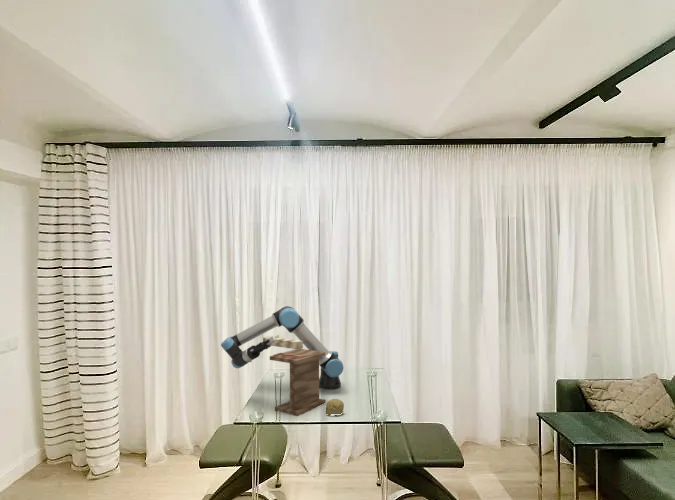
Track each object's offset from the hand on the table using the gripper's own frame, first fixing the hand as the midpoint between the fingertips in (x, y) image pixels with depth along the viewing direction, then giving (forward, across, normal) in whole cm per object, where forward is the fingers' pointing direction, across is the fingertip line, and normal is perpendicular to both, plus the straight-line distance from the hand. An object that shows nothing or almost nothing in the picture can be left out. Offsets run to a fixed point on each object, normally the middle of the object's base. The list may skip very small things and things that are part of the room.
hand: (276, 337), depth 274 cm
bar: (+1, 0, -6) cm, 6 cm away
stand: (-11, -6, -40) cm, 41 cm away
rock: (+10, -8, -52) cm, 54 cm away
